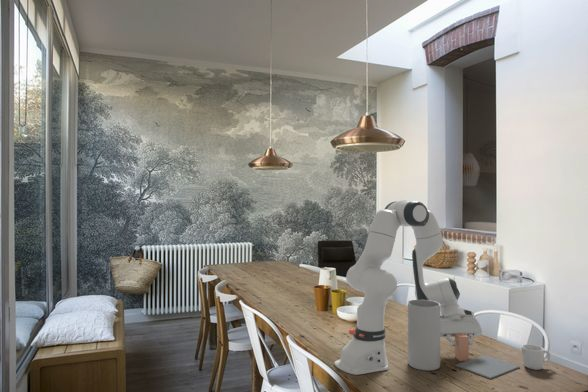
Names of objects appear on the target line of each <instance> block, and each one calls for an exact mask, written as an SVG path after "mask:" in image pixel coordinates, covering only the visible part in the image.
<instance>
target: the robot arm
mask: <svg viewBox="0 0 588 392" xmlns="http://www.w3.org/2000/svg"><path fill="white" fill-rule="evenodd" d="M400 226H402V227H410V228H412V230H413V233H414V238H415V243H416V244H415V247H414V249H413V250H411V251H412V252H411V257H412V259H411V260H412V273H413V278H414V295H415V296H414V297H415V300H429V301H435V302H438V303H439V304H440V338H445V339H446V340H447V341H448V342H449V343H450V346H451V347H455V345H456V343H455V340H453V338H455V334H466V335H467V336H468V337H469V347H471V346H472V347H473V345H474V342H473V338H474V337H480V336H481V334H482V333H483V329H482V327H481V324H480V322H479V320H478V319H477V318H476V317H475V312H474V311H472V310H469V309H466V308H463V307H461V306H460V304H459V303H458V300H459V298H460V296H461V293H460V291H459V288H458V286H457V282H456V281H455V280H454V279H452V278H450V277H445V278H444V277H443V278H441V279H436V280H433V281H429V282H425V281H424V279H425V278H424V270H423V267H424V264H425V263H426V261H427V260H429V259H430V258H432V257H433V256H435V255H436V254H437V253H438V252H439V251H440V250H441V249H442V247H443V244H444V239H443V234H442V231H441V228H440V225H439V222H438V221H437V218H436V216H435V214H434V213H433V211H432V210H429V209H428V208H427V206H426V205H425V204H424V203H423V202H422V201H421V202H420V201H418V200H405V199H404V200H398V201H397V200H396V201H392V202H389V203H388V204H387V205H385V208H384V209H380V210H378V211H377V212H376V213H375V216H374V217H373V219H372V222H371V225H370V228H369V231H368V234H367V235H368V236H367V238H366V242H365V246H364V248H363V250H362V253H361V255H360V257H359V258H358V260H357V261H356V263H355V264H354V265H352V266H350V267H349V269H348V270H347V272H346V276H345V278H346V282H347V284H348V285H349V287H351V289H352V288H353V289H354V290H355V291H358V292H360V293H363V294H364V297H363V300H362V303H361V304H359V305H358V307H357V308H356V309H357V310H356V327H355V329H352V328H349V330H348V334H350V335H352V336H353V337H352V338H351V339H350V340H349V342H348V343H346V344H345V346H344V347H342V349H341V350H340V356H339V359H337V360H335V361H334V365H335V367H336V368H338V369H339V370H341V371H342V372H345V373H347V374H351V375H354V376H355V375H356V376H357V375H358V376H359V375H363V374H370V373H375V372H381V371H388V370H389V361H388V357H387V350H386V343H385V338H386V328H385V313H386V312H385V311H386V306H387V303H388V301H389V299H390V297H392V296H394V294H395V293H396V290H397V287H398V283H397V282H398V281H397V278H396V277H395V275H394V274H392V273H390V271H387V270H385V269H381V267H382V265H383V264H384V263H385V262H386V261H387V260H389V259H390V257H392V253H393V251H394V250H393V249H394V246H395V242H396V237H397V233H398V229H399V228H400Z"/></svg>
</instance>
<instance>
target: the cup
mask: <svg viewBox="0 0 588 392" xmlns="http://www.w3.org/2000/svg"><path fill="white" fill-rule="evenodd" d="M521 352H522V360H523V361H522V362H523V366H524V367H526V368H527V369H529V370H534V371H539V370H542V369H543V367H544V363H548V362H549V361H550V360H551V353H550V352H549V350H546V349H545V348H544V347H542V346H540V345H537V344H523V345H521ZM545 354H546V358H545Z"/></svg>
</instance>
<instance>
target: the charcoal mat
mask: <svg viewBox="0 0 588 392" xmlns="http://www.w3.org/2000/svg"><path fill="white" fill-rule="evenodd" d="M455 367H457V368H459V369H462V370H464V371H468V372H470V373H473V374H475V375H479V376H481V377H483V378H486V379H489V380H492V379H495V378H497V377H500V376H502V375H505V374H507V373H510V372H513V371H516V370H518V369H520V365H517V364H514V363H511V362H508V361H505V360H502V359H498V358H497V357H496V358H495V357H493V356H489V355H487V354H483V355H481V356H476V357H474V358H471V359H469V360H468V361H461V362H459V363H457V364H455Z"/></svg>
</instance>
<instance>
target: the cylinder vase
mask: <svg viewBox="0 0 588 392" xmlns="http://www.w3.org/2000/svg"><path fill="white" fill-rule="evenodd" d="M440 316H441V312H440V304H439V303H438V302H435V301H429V300H416V299H412V300H408V301H407V363H408V365H409V366H410V367H411V368H413V369H415V370H419V371H424V372H425V371H426V372H427V371H428V372H430V371H436V370H438V369H440V367H441V337H440Z"/></svg>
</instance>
